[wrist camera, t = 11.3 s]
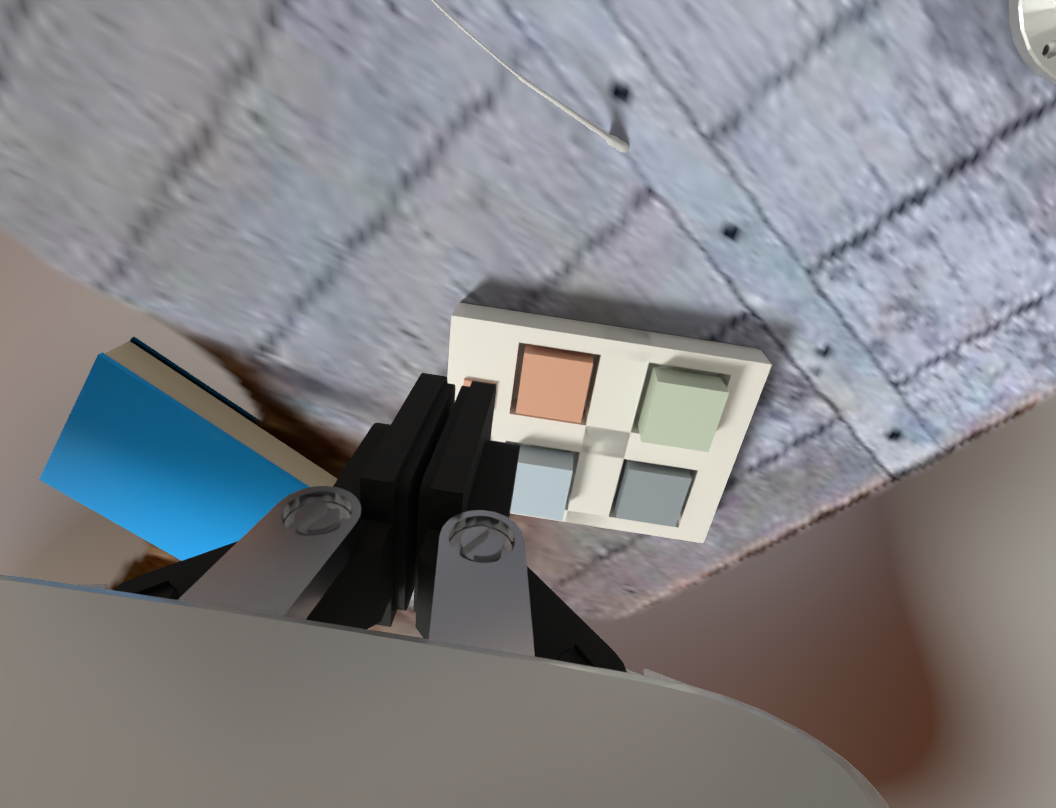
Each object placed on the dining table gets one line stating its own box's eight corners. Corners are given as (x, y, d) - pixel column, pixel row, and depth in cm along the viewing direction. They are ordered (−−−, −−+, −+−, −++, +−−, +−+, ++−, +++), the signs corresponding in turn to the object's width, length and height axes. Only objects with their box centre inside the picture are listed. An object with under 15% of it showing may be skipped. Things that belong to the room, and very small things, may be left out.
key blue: (572, 452, 44) (572, 471, 42) (562, 501, 46) (562, 520, 44) (511, 443, 44) (508, 461, 42) (505, 492, 46) (501, 511, 44)
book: (95, 352, 42) (366, 528, 48) (135, 333, 46) (382, 498, 52) (35, 484, 49) (279, 623, 55) (75, 458, 53) (298, 591, 59)
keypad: (759, 348, 41) (773, 366, 38) (696, 520, 49) (704, 545, 46) (459, 302, 41) (450, 316, 38) (446, 481, 49) (438, 504, 46)
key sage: (720, 377, 40) (729, 392, 38) (701, 434, 42) (708, 452, 40) (653, 366, 40) (657, 381, 38) (637, 424, 42) (641, 441, 40)
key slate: (686, 461, 45) (691, 479, 43) (670, 507, 47) (675, 527, 45) (626, 452, 45) (629, 469, 43) (614, 499, 47) (616, 517, 45)
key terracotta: (592, 350, 41) (593, 363, 39) (580, 407, 43) (580, 422, 41) (526, 340, 41) (524, 352, 39) (518, 397, 43) (515, 412, 41)
